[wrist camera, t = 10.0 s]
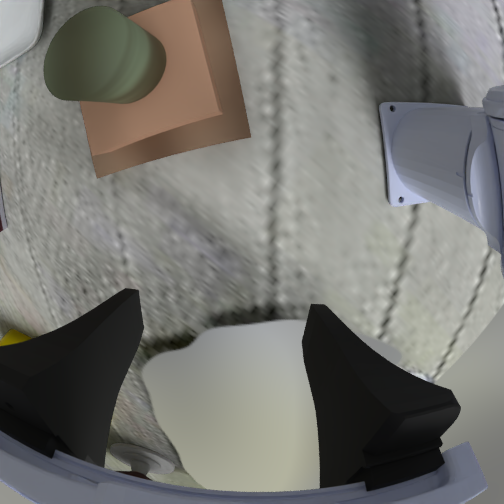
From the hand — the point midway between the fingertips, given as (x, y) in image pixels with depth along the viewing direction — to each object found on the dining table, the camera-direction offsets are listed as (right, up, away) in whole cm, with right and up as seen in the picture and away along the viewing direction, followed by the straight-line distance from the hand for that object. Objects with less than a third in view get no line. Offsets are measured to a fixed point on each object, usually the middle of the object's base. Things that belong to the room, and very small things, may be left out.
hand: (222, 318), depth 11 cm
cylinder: (-6, +13, +1) cm, 14 cm away
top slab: (-5, +14, +3) cm, 15 cm away
